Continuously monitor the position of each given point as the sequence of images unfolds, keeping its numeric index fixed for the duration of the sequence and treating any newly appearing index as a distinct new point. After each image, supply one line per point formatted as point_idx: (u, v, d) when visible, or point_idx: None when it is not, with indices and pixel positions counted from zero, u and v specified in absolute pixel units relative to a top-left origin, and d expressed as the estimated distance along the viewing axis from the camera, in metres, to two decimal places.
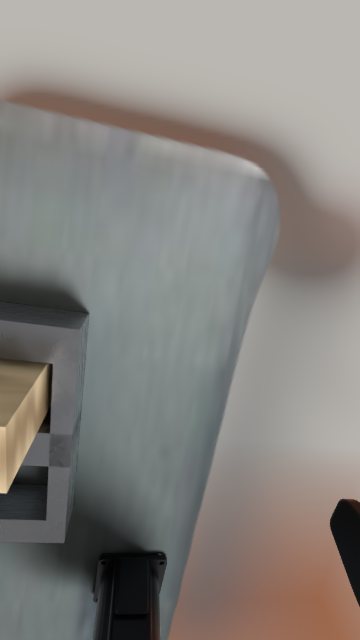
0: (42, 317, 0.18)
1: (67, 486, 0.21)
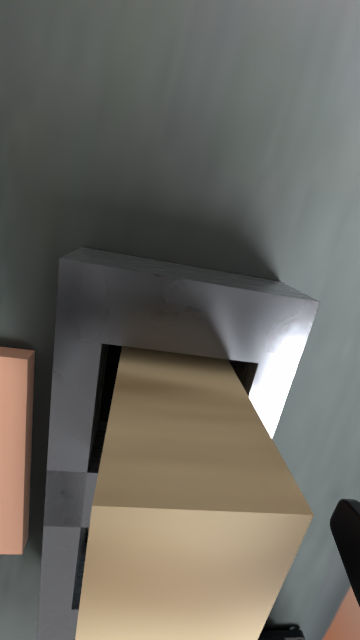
0: (237, 281, 0.10)
1: None
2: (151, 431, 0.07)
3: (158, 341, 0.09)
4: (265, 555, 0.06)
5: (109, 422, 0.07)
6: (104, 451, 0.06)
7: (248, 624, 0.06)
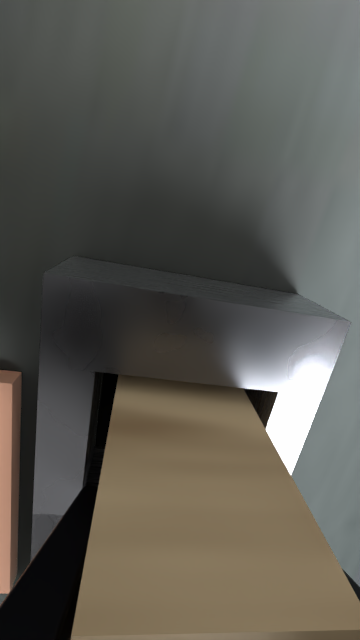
0: (252, 296, 0.09)
1: None
2: (153, 494, 0.05)
3: (161, 368, 0.08)
4: None
5: (100, 483, 0.05)
6: (92, 533, 0.05)
7: None
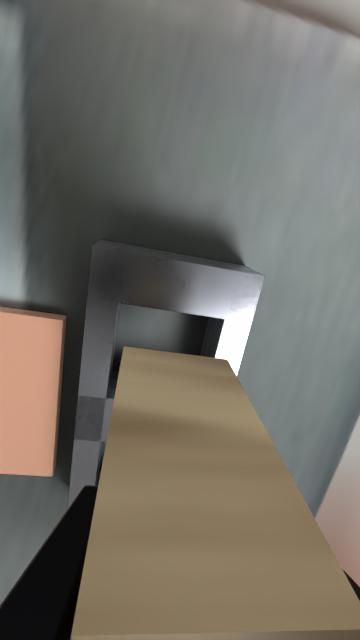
0: (210, 263, 0.15)
1: None
2: (153, 494, 0.05)
3: (155, 302, 0.14)
4: None
5: (100, 483, 0.05)
6: (92, 532, 0.05)
7: None
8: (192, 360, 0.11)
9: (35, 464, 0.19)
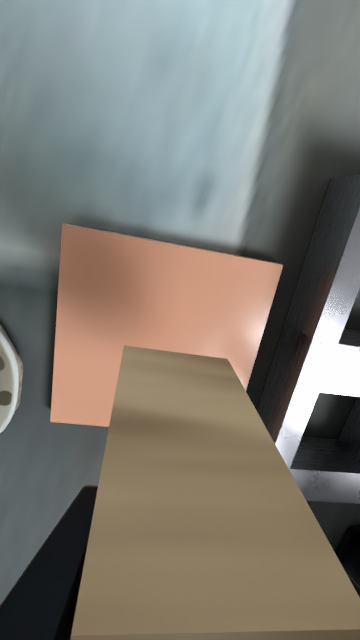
0: None
1: None
2: (154, 494, 0.05)
3: None
4: None
5: (101, 482, 0.05)
6: (92, 532, 0.05)
7: None
8: (192, 359, 0.11)
9: None
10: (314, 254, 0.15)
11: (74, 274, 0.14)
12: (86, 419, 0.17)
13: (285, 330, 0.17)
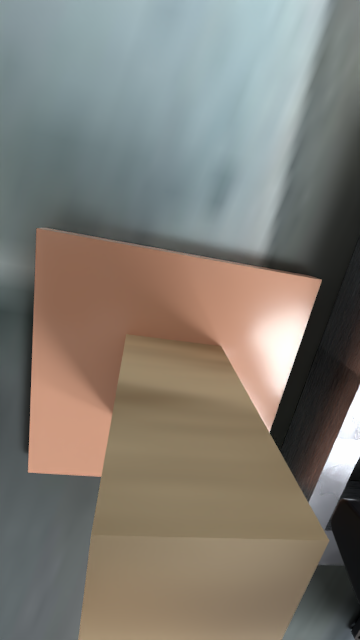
0: None
1: None
2: (154, 447, 0.06)
3: None
4: (277, 582, 0.05)
5: (109, 438, 0.06)
6: (104, 471, 0.06)
7: None
8: (188, 346, 0.12)
9: None
10: None
11: (54, 293, 0.11)
12: (73, 468, 0.14)
13: (319, 359, 0.14)
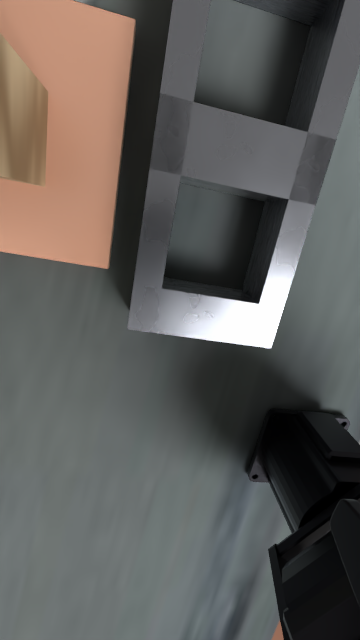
0: None
1: (302, 242, 0.15)
2: None
3: None
4: None
5: None
6: None
7: None
8: None
9: (88, 248, 0.16)
10: None
11: None
12: None
13: None
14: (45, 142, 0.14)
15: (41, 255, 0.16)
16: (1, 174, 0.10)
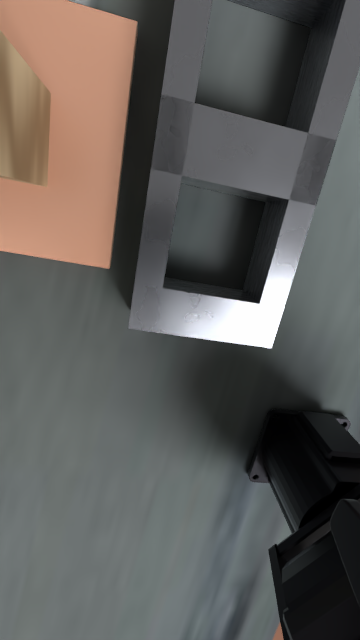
0: None
1: (303, 242, 0.15)
2: None
3: None
4: None
5: None
6: None
7: None
8: None
9: (90, 248, 0.16)
10: None
11: None
12: None
13: None
14: (47, 143, 0.14)
15: (43, 255, 0.16)
16: (4, 174, 0.10)
